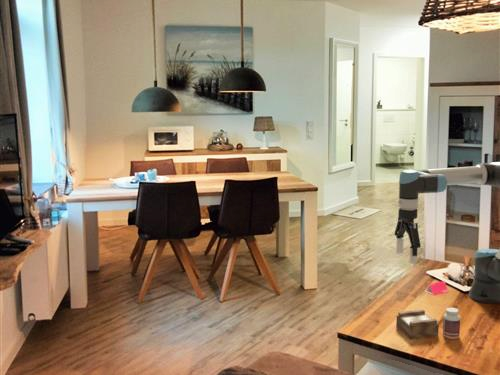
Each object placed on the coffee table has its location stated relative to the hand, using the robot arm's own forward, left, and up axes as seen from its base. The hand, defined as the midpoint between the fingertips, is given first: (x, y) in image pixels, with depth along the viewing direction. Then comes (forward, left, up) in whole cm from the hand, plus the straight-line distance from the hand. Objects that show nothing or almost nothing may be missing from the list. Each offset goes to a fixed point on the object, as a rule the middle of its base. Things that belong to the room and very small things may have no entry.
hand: (406, 258), depth 225 cm
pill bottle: (-11, +18, -28) cm, 35 cm away
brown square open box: (0, +11, -28) cm, 30 cm away
